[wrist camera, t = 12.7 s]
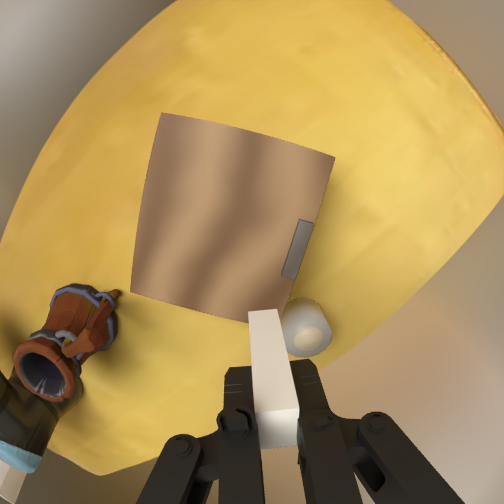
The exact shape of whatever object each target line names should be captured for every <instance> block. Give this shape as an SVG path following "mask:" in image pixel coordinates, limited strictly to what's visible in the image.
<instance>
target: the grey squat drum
mask: <svg viewBox="0 0 504 504" xmlns="http://www.w3.org/2000/svg"><path fill="white" fill-rule="evenodd" d="M280 324H281V328H282V333H283V337H284V341H285V346H286V350H287V351H288V352H289V353H290V354H292V355H294V356H296V357H311V356H314V355H317V354H319V353H320V352H322V351H323V350H324V349H325V348H326V347H327V346H328V345H329V343H330V341H331V338H332V330H331V328H330V326H329V324H328V322H327V319H326V317H325V315H324V313H323V311H322V309H321V307H320V305H319V304H318V303H317V302H316V301H314V300H312V299H309V298H299V299H295V300H292V301H291V302H289V303H287V304H286V306H285V308H284V311H283V314H282V316H281V319H280Z"/></svg>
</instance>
